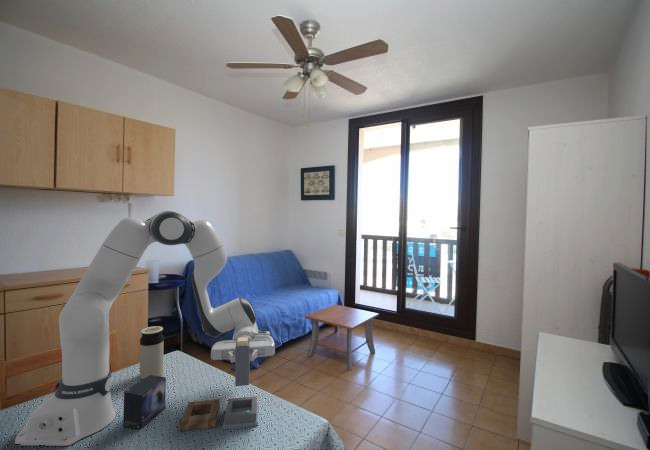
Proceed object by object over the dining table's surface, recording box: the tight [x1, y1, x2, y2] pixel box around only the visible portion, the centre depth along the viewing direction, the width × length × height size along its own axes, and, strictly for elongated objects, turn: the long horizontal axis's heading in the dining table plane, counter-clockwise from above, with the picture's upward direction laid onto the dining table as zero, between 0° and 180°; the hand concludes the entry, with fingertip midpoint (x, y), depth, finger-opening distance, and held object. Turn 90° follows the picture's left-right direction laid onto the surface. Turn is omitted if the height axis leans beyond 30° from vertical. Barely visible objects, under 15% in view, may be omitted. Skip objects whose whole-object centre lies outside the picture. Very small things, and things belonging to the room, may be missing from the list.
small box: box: [122, 375, 167, 430], centre depth 94 cm, size 11×6×10 cm, turn 168°
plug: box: [234, 337, 250, 387], centre depth 95 cm, size 4×4×14 cm
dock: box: [222, 395, 259, 430], centre depth 95 cm, size 10×10×4 cm
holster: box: [180, 398, 221, 432], centre depth 94 cm, size 9×9×3 cm
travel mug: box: [139, 325, 165, 380], centre depth 119 cm, size 8×8×18 cm
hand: (242, 359), depth 94 cm, fingers closed on plug, 4 cm apart
